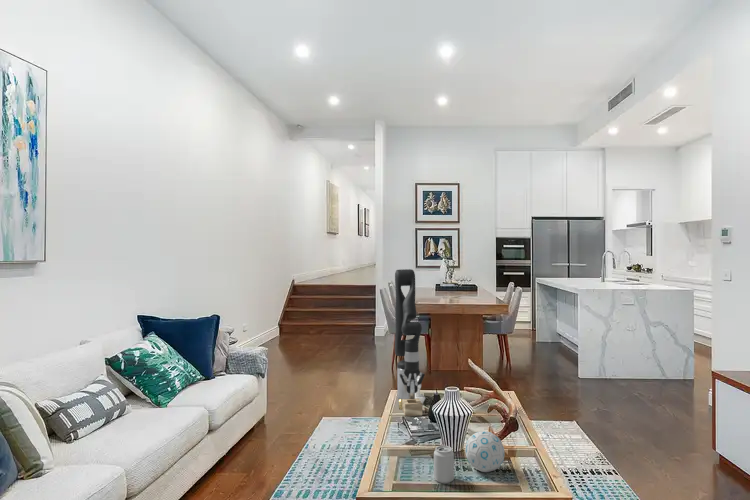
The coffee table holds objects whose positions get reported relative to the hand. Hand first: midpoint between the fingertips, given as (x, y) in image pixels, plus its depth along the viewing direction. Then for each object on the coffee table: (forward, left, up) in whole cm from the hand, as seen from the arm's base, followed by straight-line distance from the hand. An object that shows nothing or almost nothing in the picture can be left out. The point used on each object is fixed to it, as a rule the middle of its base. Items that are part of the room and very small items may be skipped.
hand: (412, 392), depth 273 cm
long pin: (0, 0, -3) cm, 3 cm away
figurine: (-16, +6, -11) cm, 20 cm away
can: (+77, -2, -11) cm, 78 cm away
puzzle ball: (+71, +16, -11) cm, 74 cm away
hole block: (0, 0, -11) cm, 11 cm away
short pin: (-7, -4, -11) cm, 14 cm away
